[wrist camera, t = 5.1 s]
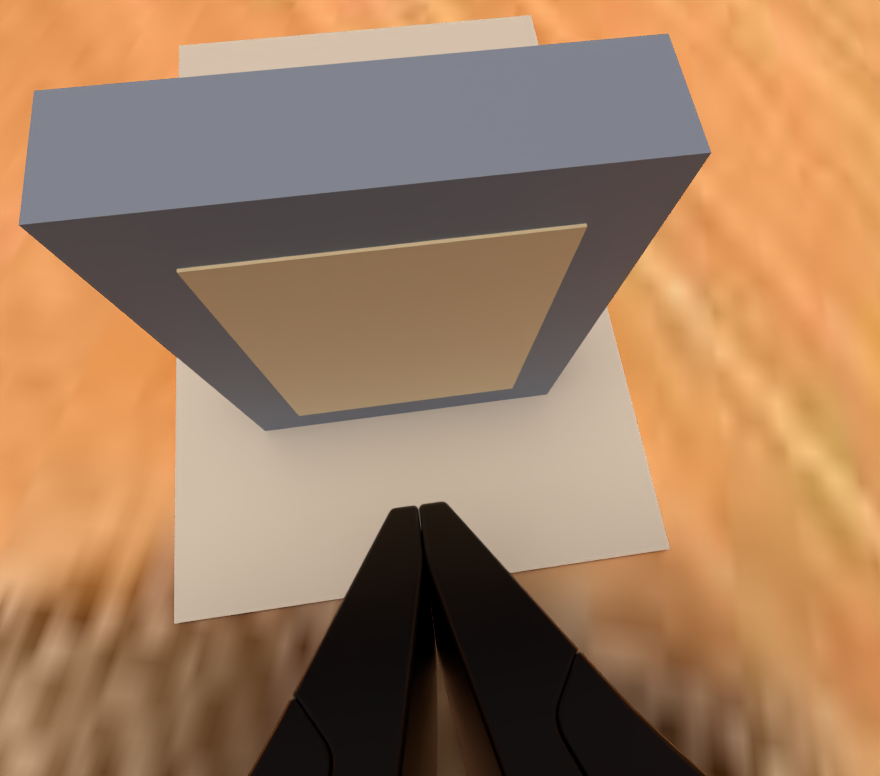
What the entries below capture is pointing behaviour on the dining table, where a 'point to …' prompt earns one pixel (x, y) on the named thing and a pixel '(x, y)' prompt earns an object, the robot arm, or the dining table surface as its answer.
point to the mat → (399, 432)
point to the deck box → (369, 216)
